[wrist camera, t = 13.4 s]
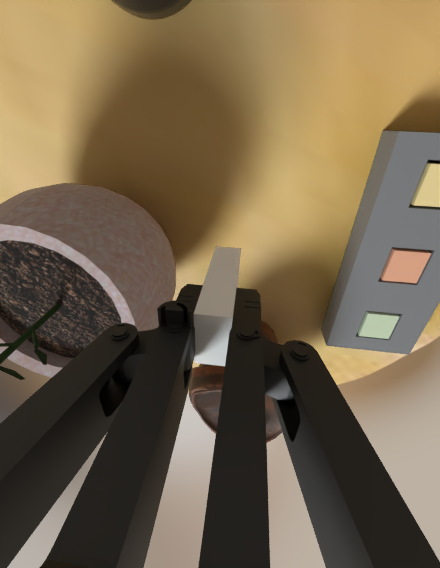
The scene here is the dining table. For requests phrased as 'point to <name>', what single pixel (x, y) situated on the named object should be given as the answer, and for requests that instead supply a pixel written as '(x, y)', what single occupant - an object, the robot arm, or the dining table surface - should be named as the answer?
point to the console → (388, 249)
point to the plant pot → (76, 272)
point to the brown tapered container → (209, 390)
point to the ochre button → (428, 186)
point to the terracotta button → (405, 265)
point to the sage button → (378, 324)
